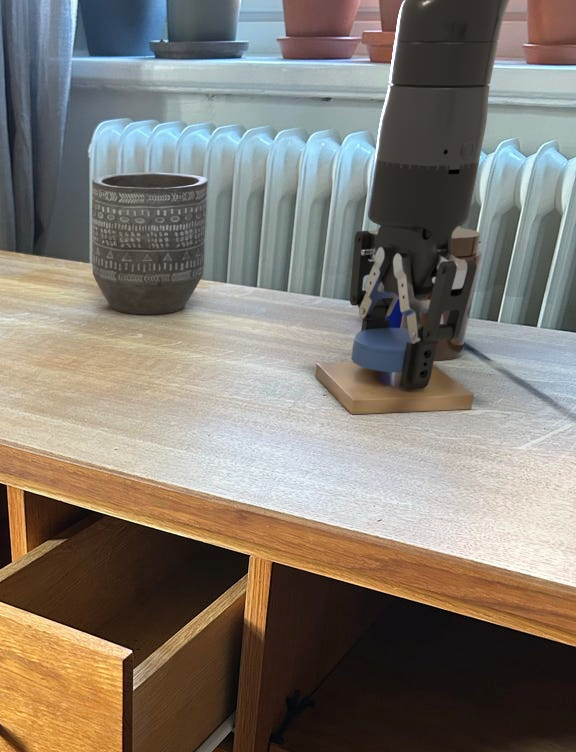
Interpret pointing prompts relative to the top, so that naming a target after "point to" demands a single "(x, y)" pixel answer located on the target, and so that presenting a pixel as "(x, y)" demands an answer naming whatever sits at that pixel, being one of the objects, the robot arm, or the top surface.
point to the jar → (467, 249)
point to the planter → (148, 239)
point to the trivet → (389, 390)
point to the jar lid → (380, 349)
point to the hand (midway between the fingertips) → (391, 374)
